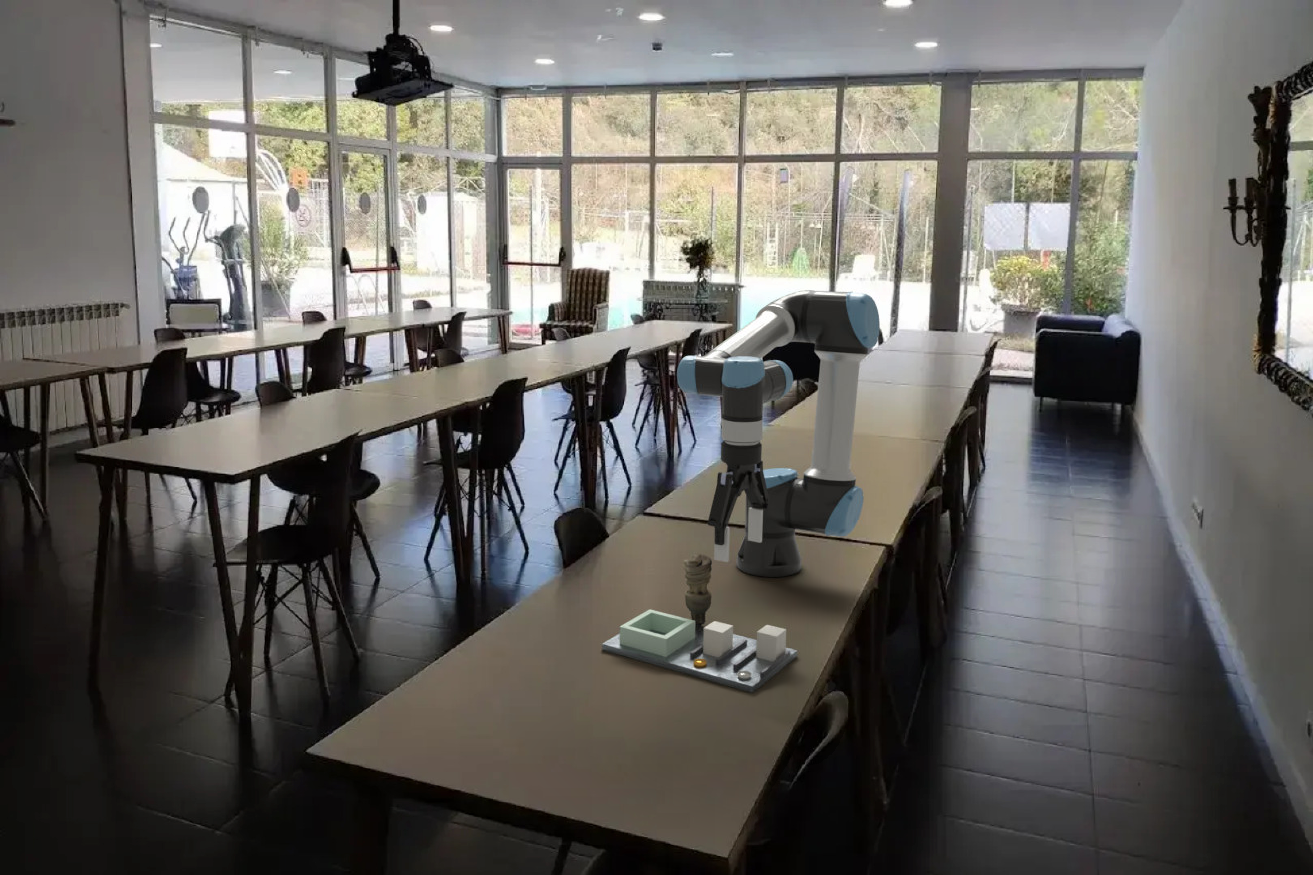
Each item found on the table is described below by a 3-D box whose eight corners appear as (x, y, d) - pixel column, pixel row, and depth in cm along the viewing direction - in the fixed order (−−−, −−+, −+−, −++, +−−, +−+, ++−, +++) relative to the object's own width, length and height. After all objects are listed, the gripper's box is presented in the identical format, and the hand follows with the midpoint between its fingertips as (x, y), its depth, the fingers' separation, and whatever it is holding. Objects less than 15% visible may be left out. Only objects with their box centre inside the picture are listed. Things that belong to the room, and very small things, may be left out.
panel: (653, 619, 208) (653, 609, 208) (796, 656, 191) (797, 645, 191) (602, 649, 193) (602, 638, 193) (752, 692, 176) (752, 681, 176)
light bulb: (687, 632, 202) (688, 560, 198) (679, 621, 207) (680, 551, 204) (714, 629, 203) (716, 557, 200) (705, 619, 208) (707, 549, 205)
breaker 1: (713, 645, 192) (714, 621, 191) (732, 650, 190) (733, 625, 189) (703, 653, 189) (703, 628, 188) (722, 658, 187) (722, 632, 186)
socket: (649, 626, 201) (649, 609, 201) (694, 637, 196) (695, 620, 195) (619, 643, 193) (619, 626, 192) (666, 656, 187) (666, 639, 187)
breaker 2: (766, 649, 191) (766, 624, 190) (785, 654, 189) (786, 629, 188) (756, 657, 188) (756, 631, 187) (775, 662, 186) (776, 636, 185)
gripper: (753, 427, 201) (750, 530, 205) (689, 451, 180) (688, 565, 185) (788, 431, 197) (784, 536, 201) (727, 456, 176) (724, 573, 181)
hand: (738, 550), depth 193 cm, fingers open, 13 cm apart
